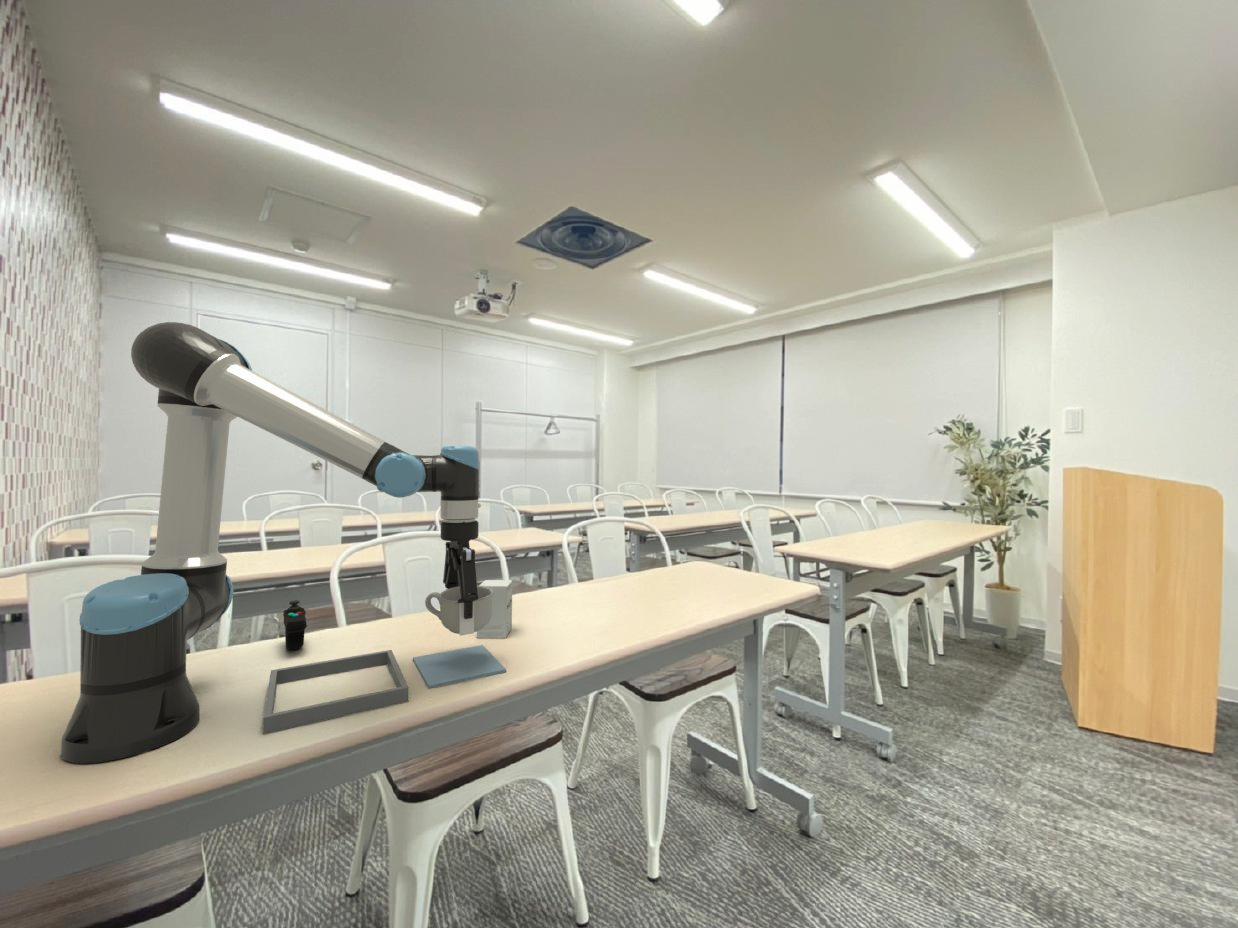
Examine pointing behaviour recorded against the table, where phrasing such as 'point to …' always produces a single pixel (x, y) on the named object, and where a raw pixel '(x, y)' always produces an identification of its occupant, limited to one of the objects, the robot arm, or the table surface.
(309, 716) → the gray rectangular frame
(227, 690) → the table surface
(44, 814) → the table surface
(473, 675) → the mat
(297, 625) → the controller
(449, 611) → the teacup
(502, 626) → the supplement box
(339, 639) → the table surface
